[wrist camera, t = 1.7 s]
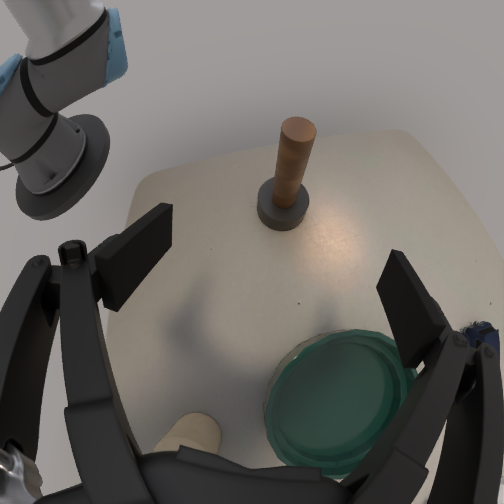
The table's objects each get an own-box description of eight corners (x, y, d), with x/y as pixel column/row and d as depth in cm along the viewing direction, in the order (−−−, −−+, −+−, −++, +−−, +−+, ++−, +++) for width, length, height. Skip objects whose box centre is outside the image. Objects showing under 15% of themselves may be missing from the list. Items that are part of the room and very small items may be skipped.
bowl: (249, 454, 26) (249, 473, 21) (280, 319, 30) (286, 317, 26) (379, 460, 25) (395, 474, 20) (409, 338, 29) (431, 338, 25)
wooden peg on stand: (252, 225, 34) (254, 149, 19) (262, 184, 35) (268, 98, 21) (301, 235, 33) (334, 166, 19) (307, 193, 35) (336, 112, 21)
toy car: (458, 403, 26) (482, 408, 21) (458, 326, 30) (483, 322, 24) (482, 390, 26) (505, 393, 21) (481, 318, 30) (505, 313, 24)
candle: (230, 428, 27) (222, 465, 17) (207, 458, 25) (191, 500, 16) (190, 403, 27) (164, 430, 18) (168, 435, 26) (137, 468, 16)
